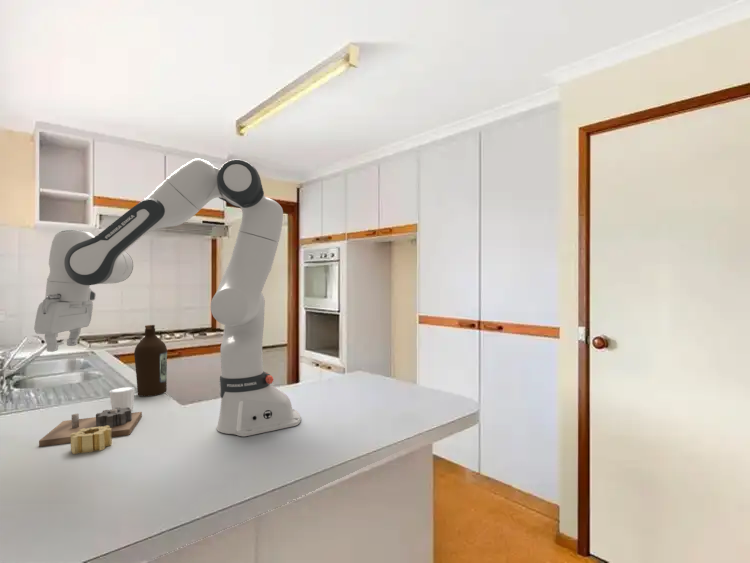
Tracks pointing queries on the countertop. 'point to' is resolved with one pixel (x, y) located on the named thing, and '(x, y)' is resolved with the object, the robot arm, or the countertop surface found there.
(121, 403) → the white short cylinder
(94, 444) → the brass gear
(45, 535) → the countertop surface
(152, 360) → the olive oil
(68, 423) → the gear board
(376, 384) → the countertop surface
